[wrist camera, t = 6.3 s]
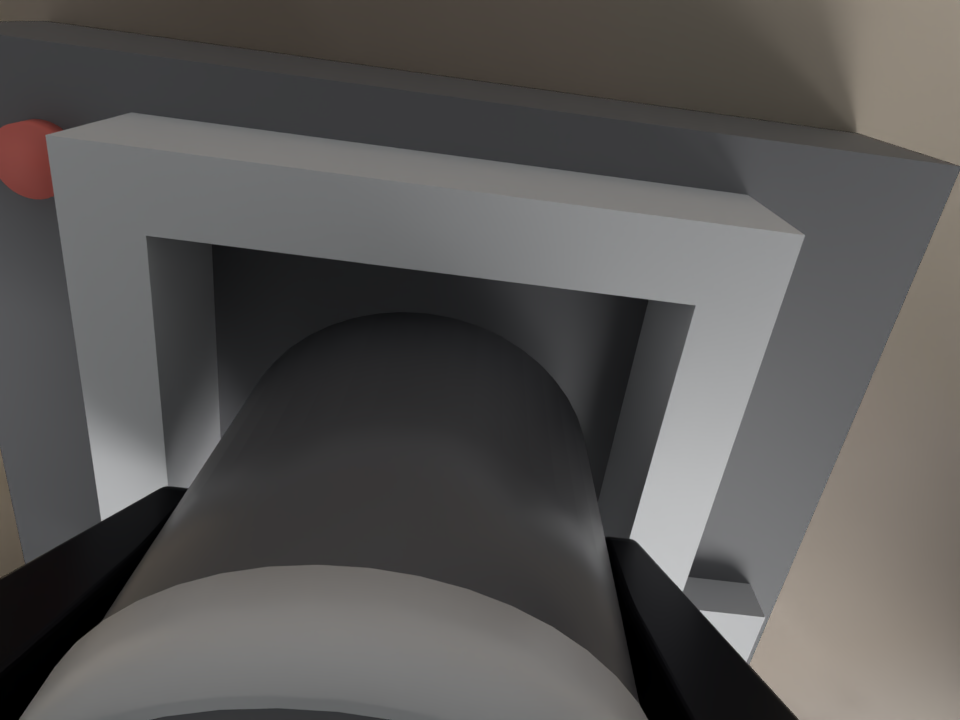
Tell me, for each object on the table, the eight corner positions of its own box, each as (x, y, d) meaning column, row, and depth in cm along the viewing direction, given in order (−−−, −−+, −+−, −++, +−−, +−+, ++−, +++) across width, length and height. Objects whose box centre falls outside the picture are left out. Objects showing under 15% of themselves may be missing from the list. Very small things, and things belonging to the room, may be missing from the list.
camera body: (858, 133, 12) (1069, 201, 8) (704, 566, 17) (782, 770, 12) (45, 20, 12) (-239, 22, 7) (110, 499, 16) (-40, 687, 12)
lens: (631, 332, 9) (975, 1141, 2) (559, 623, 11) (643, 1442, 5) (224, 279, 9) (-540, 1016, 2) (235, 587, 11) (-133, 1389, 5)
